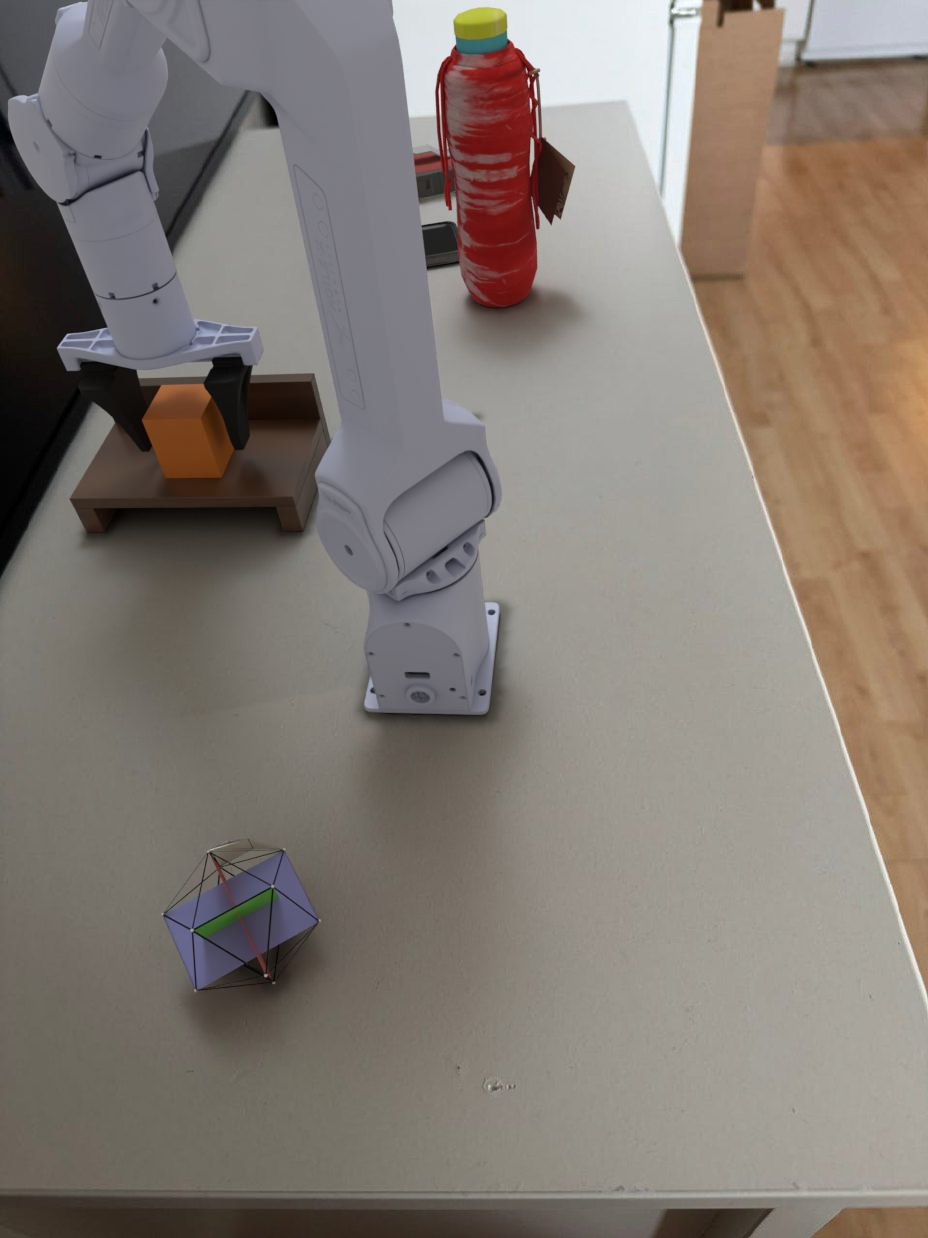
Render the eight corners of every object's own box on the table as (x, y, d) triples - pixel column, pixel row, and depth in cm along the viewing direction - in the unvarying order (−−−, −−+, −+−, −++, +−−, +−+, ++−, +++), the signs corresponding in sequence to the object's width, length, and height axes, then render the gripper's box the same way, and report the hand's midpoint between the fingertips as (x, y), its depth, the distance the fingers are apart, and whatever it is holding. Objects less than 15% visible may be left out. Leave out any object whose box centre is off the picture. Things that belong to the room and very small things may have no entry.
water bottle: (571, 267, 98) (566, -14, 80) (579, 306, 93) (575, 13, 75) (455, 279, 99) (424, 2, 81) (456, 318, 93) (423, 30, 75)
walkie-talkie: (479, 158, 120) (324, 188, 118) (476, 120, 117) (316, 151, 115) (497, 184, 114) (333, 217, 112) (494, 146, 111) (326, 179, 109)
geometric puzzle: (349, 977, 47) (282, 837, 45) (219, 1054, 45) (143, 910, 43) (320, 924, 53) (261, 800, 52) (206, 989, 51) (140, 862, 50)
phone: (321, 241, 106) (454, 219, 106) (323, 251, 106) (455, 229, 107) (324, 273, 100) (464, 250, 101) (327, 283, 101) (465, 260, 101)
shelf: (303, 531, 74) (281, 458, 68) (86, 532, 76) (50, 462, 71) (331, 444, 81) (314, 372, 76) (133, 447, 84) (104, 378, 79)
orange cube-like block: (221, 477, 74) (200, 418, 70) (165, 478, 74) (141, 419, 70) (237, 441, 77) (218, 383, 73) (183, 442, 77) (161, 384, 73)
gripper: (252, 245, 66) (296, 411, 76) (58, 255, 68) (126, 415, 78) (224, 296, 61) (275, 466, 71) (16, 305, 63) (94, 468, 73)
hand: (195, 443), depth 74 cm, fingers open, 7 cm apart
